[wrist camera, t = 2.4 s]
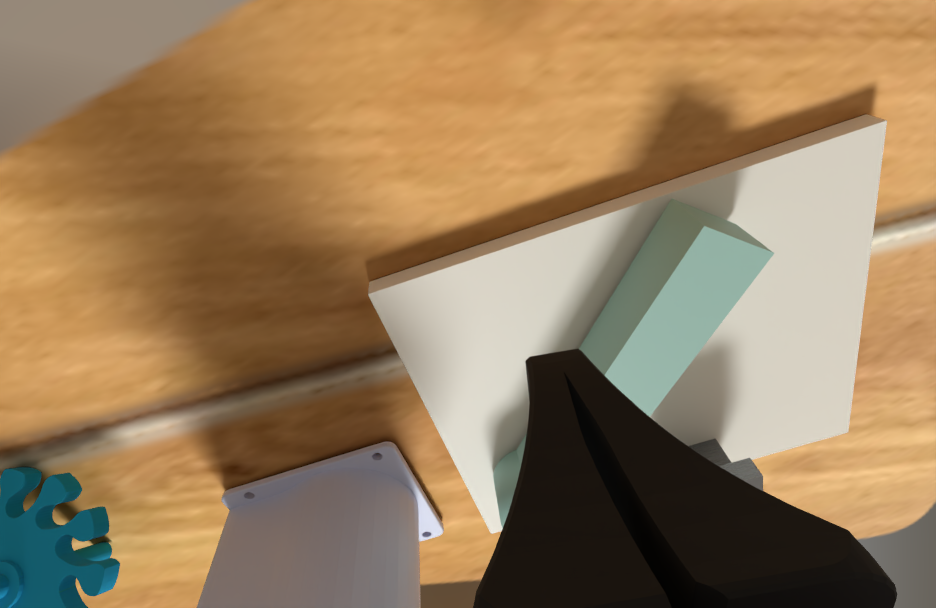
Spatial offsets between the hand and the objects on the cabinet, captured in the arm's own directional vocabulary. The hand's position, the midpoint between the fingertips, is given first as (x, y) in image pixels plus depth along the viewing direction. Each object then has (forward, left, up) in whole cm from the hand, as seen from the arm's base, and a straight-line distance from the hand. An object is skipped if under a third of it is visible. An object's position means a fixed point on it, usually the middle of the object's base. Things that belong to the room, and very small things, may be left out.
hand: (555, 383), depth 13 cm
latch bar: (+2, -8, -8) cm, 11 cm away
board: (+4, -9, -9) cm, 13 cm away
